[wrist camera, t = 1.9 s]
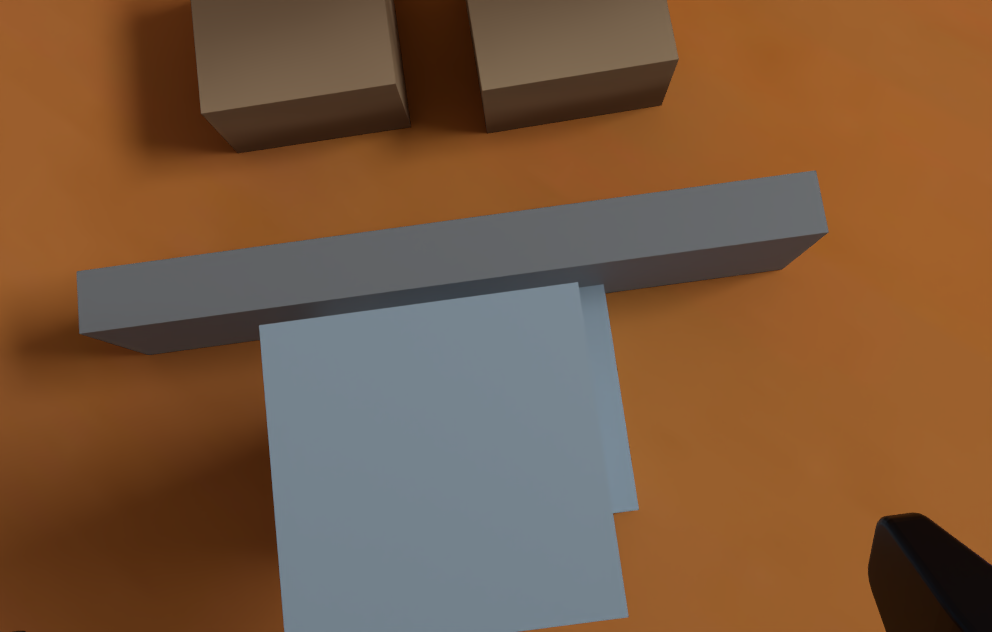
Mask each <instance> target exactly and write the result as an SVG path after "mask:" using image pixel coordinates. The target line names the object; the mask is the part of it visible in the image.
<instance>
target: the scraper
mask: <svg viewBox="0 0 992 632" xmlns="http://www.w3.org/2000/svg"><path fill="white" fill-rule="evenodd" d="M827 233H828V227H827V222H826V217H825V212H824V208H823V203H822V198H821V193H820V188H819V183H818V178H817V173H816V171H809V172H801V173H794V174H787V175H779V176H772V177H765V178H757V179H750V180H743V181H735V182H728V183H721V184H713V185H706V186H699V187H691V188H684V189H677V190H670V191H662V192H655V193H648V194H640V195H633V196H626V197H618V198H611V199H604V200H596V201H589V202H582V203H574V204H567V205H560V206H552V207H545V208H538V209H530V210H523V211H516V212H509V213H501V214H494V215H487V216H479V217H472V218H465V219H457V220H450V221H443V222H435V223H428V224H421V225H413V226H406V227H399V228H391V229H384V230H377V231H369V232H362V233H355V234H347V235H340V236H333V237H326V238H318V239H311V240H304V241H296V242H289V243H282V244H274V245H267V246H260V247H252V248H245V249H238V250H230V251H223V252H216V253H208V254H201V255H194V256H186V257H179V258H172V259H165V260H157V261H150V262H143V263H135V264H128V265H121V266H113V267H106V268H99V269H91V270H84V271H77V291H78V313H79V334H82V335H85V336H88V337H92V338H95V339H98V340H101V341H105V342H108V343H111V344H114V345H118V346H121V347H124V348H127V349H131V350H134V351H137V352H140V353H144V354H147V355H152V354H159V353H166V352H174V351H181V350H189V349H196V348H203V347H211V346H218V345H226V344H233V343H240V342H248V341H255V340H260V343H261V355H262V367H263V379H264V391H265V403H266V415H267V427H268V439H269V451H270V464H271V476H272V488H273V500H274V512H275V524H276V536H277V548H278V560H279V572H280V584H281V596H282V608H283V620H284V632H518V631H525V630H533V629H541V628H548V627H556V626H564V625H572V624H579V623H587V622H595V621H602V620H610V619H618V618H625V617H628V610H627V604H626V597H625V591H624V584H623V577H622V571H621V564H620V557H619V551H618V544H617V538H616V531H615V524H614V518H613V513H618V512H625V511H633V510H639V508H638V501H637V495H636V488H635V482H634V476H633V469H632V463H631V456H630V450H629V444H628V437H627V431H626V424H625V418H624V412H623V405H622V399H621V392H620V386H619V380H618V373H617V367H616V360H615V354H614V347H613V341H612V335H611V328H610V322H609V315H608V309H607V303H606V296H605V293H610V292H618V291H625V290H633V289H640V288H647V287H655V286H662V285H670V284H677V283H684V282H692V281H699V280H707V279H714V278H721V277H729V276H736V275H744V274H751V273H758V272H766V271H773V270H781V269H783V268H784V267H786V266H787V265H788V264H789V263H791V262H792V261H793V260H794V259H796V258H797V257H798V256H799V255H801V254H802V253H803V252H804V251H806V250H807V249H808V248H809V247H811V246H812V245H813V244H814V243H816V242H817V241H818V240H819V239H821V238H822V237H823V236H824V235H826V234H827Z"/></svg>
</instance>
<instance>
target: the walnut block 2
mask: <svg viewBox="0 0 992 632" xmlns="http://www.w3.org/2000/svg"><path fill="white" fill-rule="evenodd" d="M466 7H467V13H468V19H469V25H470V31H471V37H472V43H473V49H474V56H475V62H476V68H477V74H478V80H479V86H480V92H481V99H482V105H483V111H484V117H485V123H486V129H487V133H493V132H499V131H505V130H511V129H518V128H524V127H530V126H536V125H542V124H549V123H555V122H561V121H567V120H573V119H579V118H586V117H592V116H598V115H604V114H610V113H617V112H623V111H629V110H635V109H641V108H648V107H654V106H660V105H662V102H663V100H664V97H665V94H666V92H667V89H668V86H669V84H670V81H671V78H672V76H673V73H674V70H675V67H676V65H677V62H678V59H679V58H678V54H677V49H676V44H675V39H674V34H673V29H672V25H671V20H670V15H669V10H668V5H667V0H466Z"/></svg>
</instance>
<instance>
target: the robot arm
mask: <svg viewBox="0 0 992 632" xmlns="http://www.w3.org/2000/svg"><path fill="white" fill-rule="evenodd" d="M868 577H869V582H870V587H871V590H872V593H873V596H874V599H875V601H876V604H877V607H878V610H879V613H880V616H881V618H882V621H883V624H884V627H885V630H886V632H992V565H991V564H989V563H988V562H987V561H985V560H984V559H983V558H981V557H980V556H979V555H977V554H976V553H975V552H973V551H972V550H971V549H969V548H968V547H967V546H965V545H964V544H963V543H961V542H960V541H959V540H957V539H956V538H954V537H953V536H952V535H950V534H949V533H948V532H946V531H945V530H944V529H942V528H941V527H940V526H938V525H937V524H936V523H934V522H933V521H932V520H930V519H929V518H928V517H926V516H924V515H922V514H919V513H905V514H898V515H890V516H885V517H882V518H881V519H880V520H879V521H878V522H877V525H876V529H875V534H874V539H873V544H872V549H871V554H870V559H869V564H868ZM14 632H25V631H14Z"/></svg>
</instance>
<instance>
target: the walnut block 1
mask: <svg viewBox="0 0 992 632" xmlns="http://www.w3.org/2000/svg"><path fill="white" fill-rule="evenodd" d="M191 8H192V19H193V30H194V41H195V52H196V63H197V74H198V85H199V96H200V107H201V114H202V115H203V116H204V117H205V118H206V119H207V121H208V122H209V123H210V124H211V125H212V126H213V127H214V128H215V129H216V130H217V131H218V132H219V133H220V134H221V136H222V137H223V138H224V139H225V140H226V141H227V142H228V143H229V144H230V145H231V146H232V147H233V148H234V149H235V151H236V152H237V153H243V152H250V151H256V150H263V149H269V148H276V147H283V146H289V145H296V144H302V143H309V142H316V141H322V140H329V139H335V138H342V137H349V136H355V135H362V134H368V133H375V132H382V131H388V130H395V129H401V128H408V127H411V124H410V116H409V109H408V102H407V94H406V87H405V79H404V72H403V65H402V57H401V50H400V42H399V35H398V28H397V20H396V13H395V5H394V0H191Z"/></svg>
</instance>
